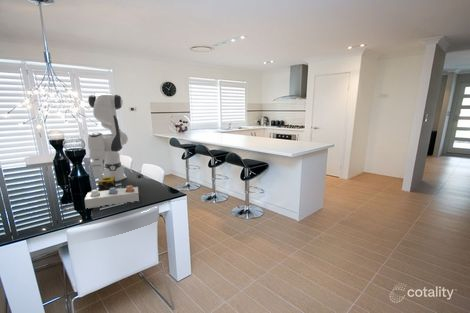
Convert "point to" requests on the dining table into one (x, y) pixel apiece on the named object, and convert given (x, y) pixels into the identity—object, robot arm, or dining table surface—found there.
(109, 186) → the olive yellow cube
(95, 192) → the key white
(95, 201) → the console
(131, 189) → the key rust
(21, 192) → the dining table surface
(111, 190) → the key blue
